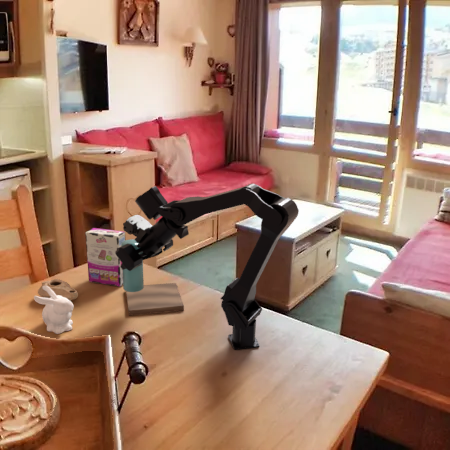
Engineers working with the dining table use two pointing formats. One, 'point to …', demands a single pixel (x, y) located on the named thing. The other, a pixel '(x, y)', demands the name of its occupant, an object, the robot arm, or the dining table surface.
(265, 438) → the dining table surface
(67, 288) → the pottery oil lamp
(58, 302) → the rabbit
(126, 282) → the teal cup
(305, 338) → the dining table surface
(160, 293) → the walnut board
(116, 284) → the candy bar box
